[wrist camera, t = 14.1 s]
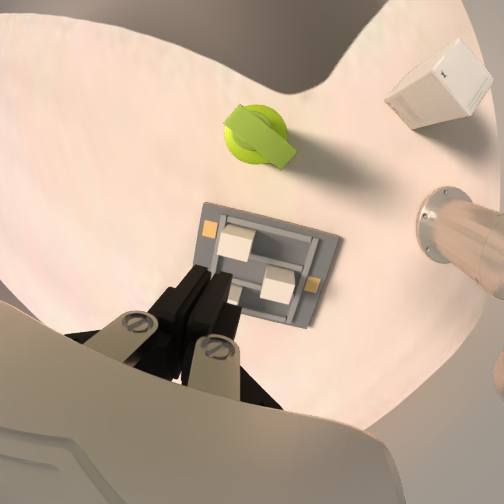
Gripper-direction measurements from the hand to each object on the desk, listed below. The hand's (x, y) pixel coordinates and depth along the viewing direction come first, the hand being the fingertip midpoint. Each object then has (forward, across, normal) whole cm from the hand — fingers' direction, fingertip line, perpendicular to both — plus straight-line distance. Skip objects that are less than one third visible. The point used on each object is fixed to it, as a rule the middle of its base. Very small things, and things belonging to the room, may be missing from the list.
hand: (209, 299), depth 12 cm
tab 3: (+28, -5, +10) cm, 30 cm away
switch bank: (+29, -2, +10) cm, 31 cm away
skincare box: (+29, -18, -22) cm, 41 cm away
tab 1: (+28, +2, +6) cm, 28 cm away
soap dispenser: (+29, +1, -8) cm, 30 cm away
